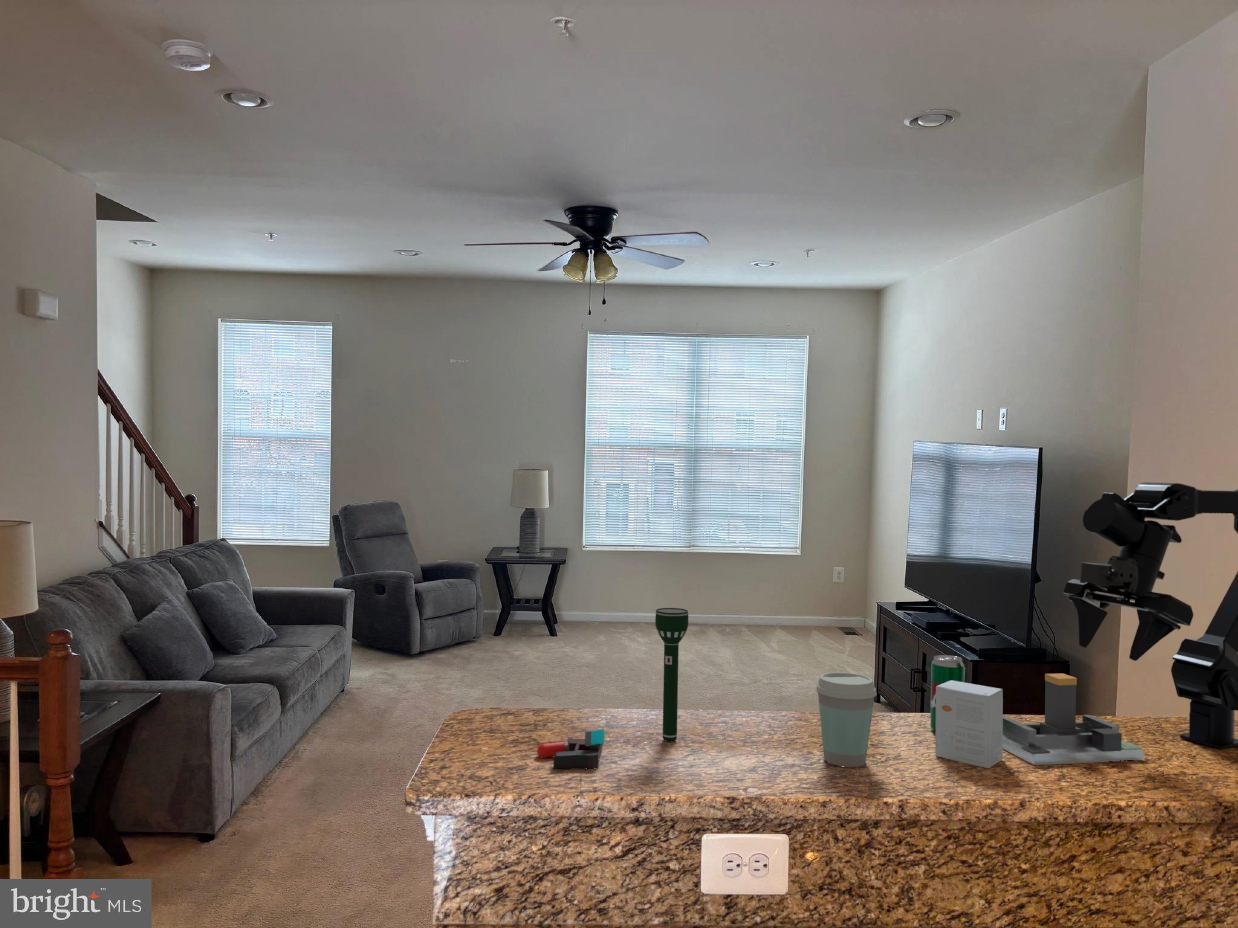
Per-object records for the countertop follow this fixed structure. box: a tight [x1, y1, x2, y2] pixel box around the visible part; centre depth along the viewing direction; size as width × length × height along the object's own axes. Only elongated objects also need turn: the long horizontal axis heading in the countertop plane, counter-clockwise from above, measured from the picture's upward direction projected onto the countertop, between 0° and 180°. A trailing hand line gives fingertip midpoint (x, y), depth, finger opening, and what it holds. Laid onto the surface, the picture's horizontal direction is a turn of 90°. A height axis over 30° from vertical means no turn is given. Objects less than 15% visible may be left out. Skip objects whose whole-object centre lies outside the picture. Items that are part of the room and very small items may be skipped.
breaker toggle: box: [1039, 673, 1081, 735], centre depth 134 cm, size 4×4×9 cm
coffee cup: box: [815, 671, 877, 768], centre depth 127 cm, size 8×9×12 cm
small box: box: [935, 680, 1004, 769], centre depth 129 cm, size 8×6×10 cm
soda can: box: [929, 654, 966, 733], centre depth 142 cm, size 5×5×12 cm
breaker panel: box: [1003, 714, 1145, 766], centre depth 134 cm, size 18×13×4 cm
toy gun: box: [536, 728, 605, 770], centre depth 127 cm, size 10×12×5 cm
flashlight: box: [655, 607, 689, 743], centre depth 135 cm, size 5×5×20 cm
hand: (1106, 653), depth 133 cm, fingers open, 9 cm apart
